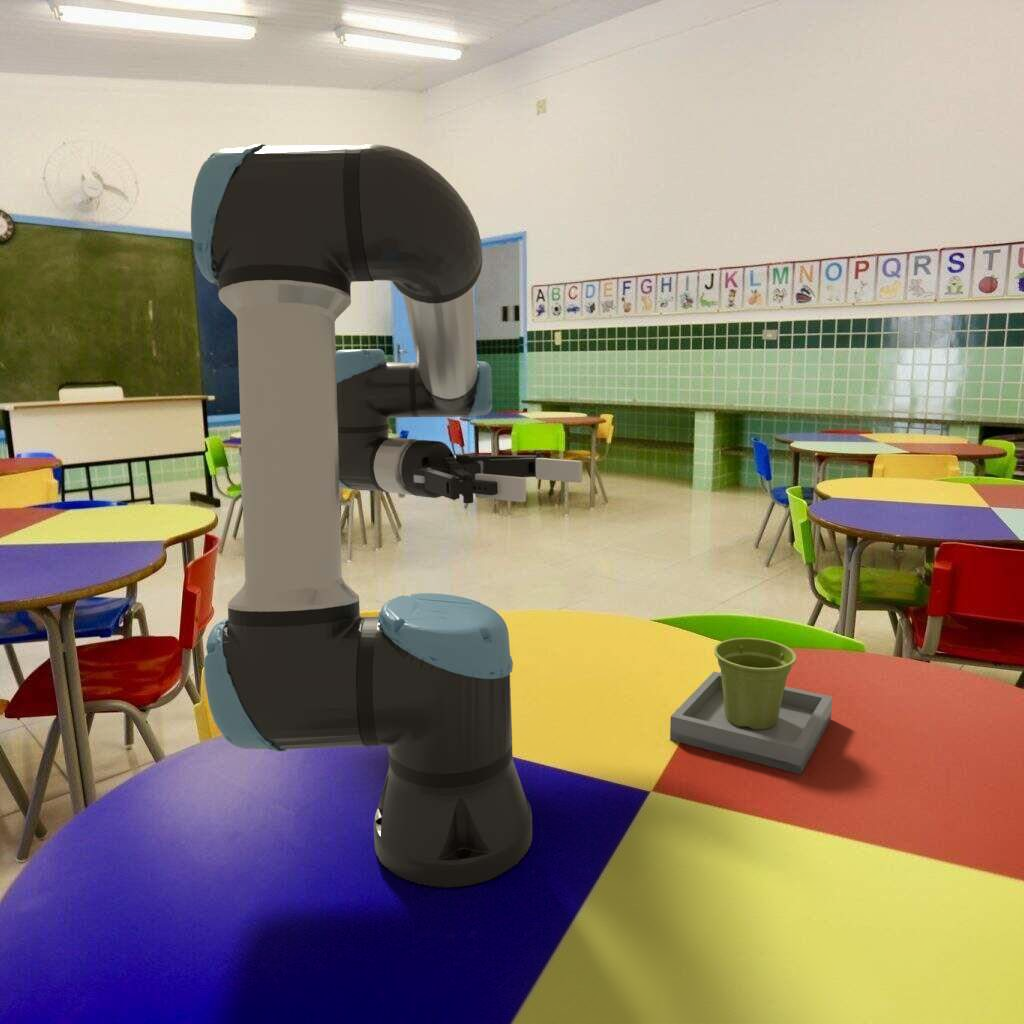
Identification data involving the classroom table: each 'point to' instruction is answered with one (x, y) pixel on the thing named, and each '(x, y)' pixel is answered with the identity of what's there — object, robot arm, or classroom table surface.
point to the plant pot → (753, 680)
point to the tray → (773, 747)
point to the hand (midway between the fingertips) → (554, 480)
